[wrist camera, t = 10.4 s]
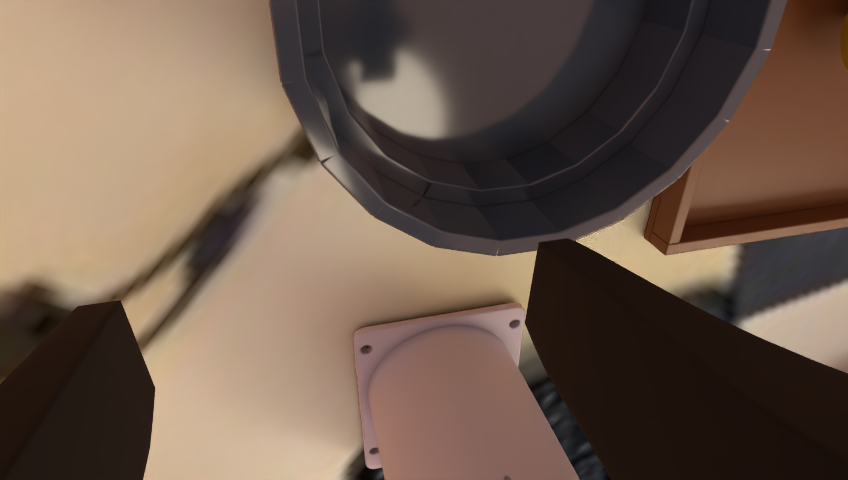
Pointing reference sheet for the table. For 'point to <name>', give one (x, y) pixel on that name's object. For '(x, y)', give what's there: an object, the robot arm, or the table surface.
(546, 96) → the bowl
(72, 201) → the table surface
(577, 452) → the table surface
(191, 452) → the table surface
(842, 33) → the lemon
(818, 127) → the tray
